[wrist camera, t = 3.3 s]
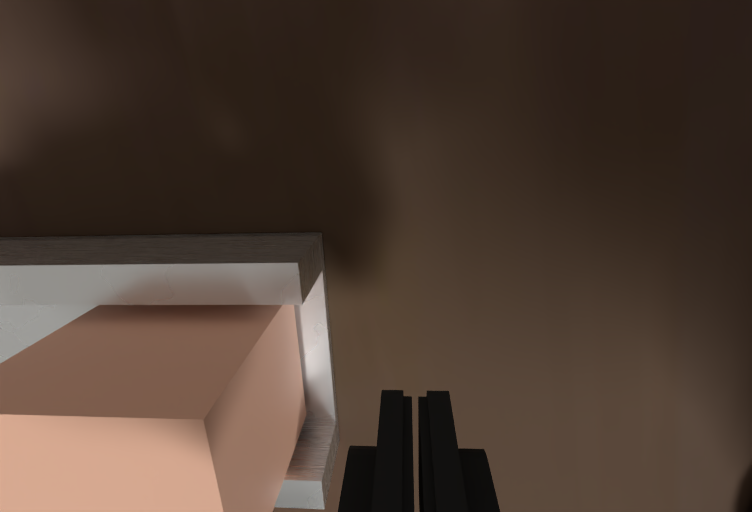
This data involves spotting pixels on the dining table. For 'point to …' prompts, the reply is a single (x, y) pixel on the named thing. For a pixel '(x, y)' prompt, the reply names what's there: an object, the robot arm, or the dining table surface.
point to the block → (153, 411)
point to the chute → (187, 287)
